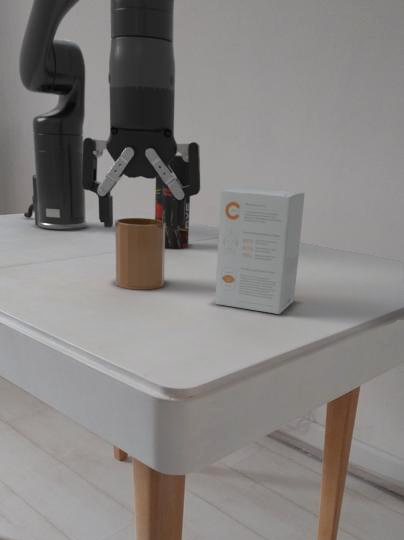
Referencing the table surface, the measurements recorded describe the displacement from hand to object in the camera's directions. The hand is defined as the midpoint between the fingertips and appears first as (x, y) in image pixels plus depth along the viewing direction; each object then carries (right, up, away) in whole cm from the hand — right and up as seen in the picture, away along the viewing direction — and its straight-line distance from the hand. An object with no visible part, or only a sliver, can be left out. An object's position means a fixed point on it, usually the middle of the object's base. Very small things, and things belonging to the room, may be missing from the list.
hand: (141, 228), depth 71 cm
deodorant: (+2, +3, +29) cm, 29 cm away
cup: (-1, -7, +3) cm, 7 cm away
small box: (+14, -10, -3) cm, 18 cm away
